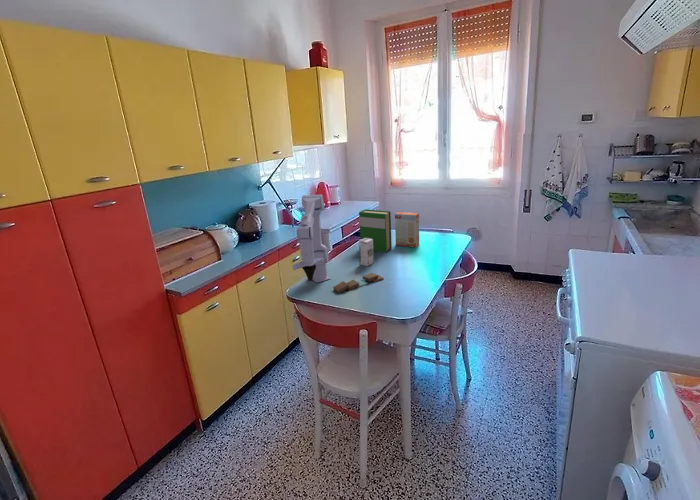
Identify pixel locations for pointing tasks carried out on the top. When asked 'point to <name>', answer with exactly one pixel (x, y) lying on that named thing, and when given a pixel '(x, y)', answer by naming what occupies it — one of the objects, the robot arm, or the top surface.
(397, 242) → the cracker box
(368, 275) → the tile
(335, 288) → the tile
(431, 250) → the top surface
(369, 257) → the syrup box
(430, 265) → the top surface
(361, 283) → the teal tile
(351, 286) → the tile
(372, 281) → the tile
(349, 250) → the top surface
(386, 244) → the hardback book
